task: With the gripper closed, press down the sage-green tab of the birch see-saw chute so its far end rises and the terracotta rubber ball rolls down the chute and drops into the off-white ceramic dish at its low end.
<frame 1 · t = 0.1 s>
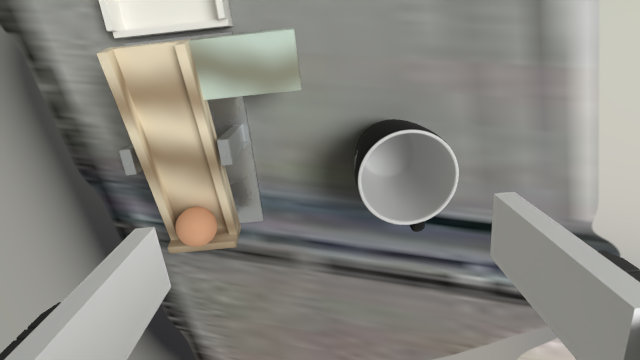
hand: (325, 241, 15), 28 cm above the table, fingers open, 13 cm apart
mug: (390, 161, 43), on the table
wooden ramp: (224, 151, 35), point 7 cm above the table, hinge at 12.0°, touching ball
stand: (200, 138, 41), on the table
ball: (196, 226, 38), point 7 cm above the table, tilted 10°, touching wooden ramp
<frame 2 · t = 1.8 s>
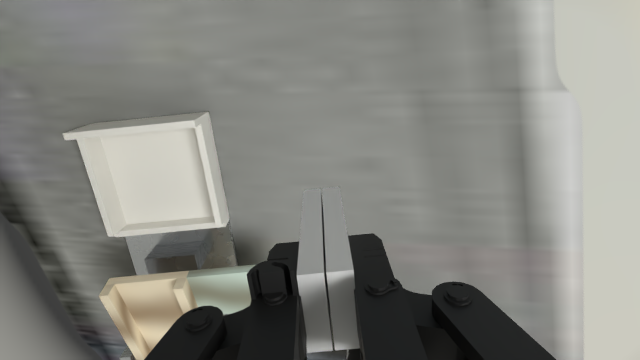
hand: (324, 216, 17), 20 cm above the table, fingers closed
dish: (164, 172, 37), on the table
wooden ramp: (220, 352, 36), point 7 cm above the table, hinge at 12.0°, touching ball
stand: (198, 309, 43), on the table
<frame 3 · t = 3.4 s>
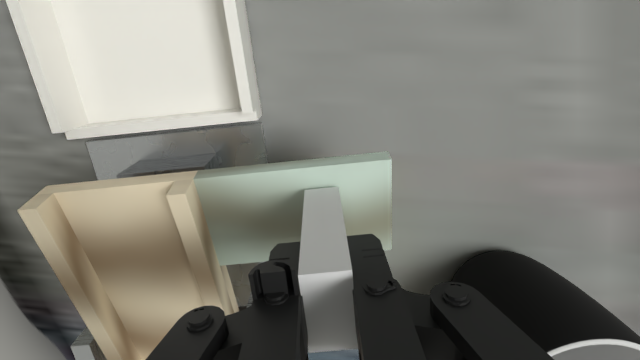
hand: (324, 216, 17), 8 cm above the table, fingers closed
dish: (151, 27, 22), on the table
mug: (493, 301, 29), on the table
wooden ramp: (250, 336, 21), point 7 cm above the table, hinge at 9.8°, touching ball, gripper
stand: (209, 272, 27), on the table
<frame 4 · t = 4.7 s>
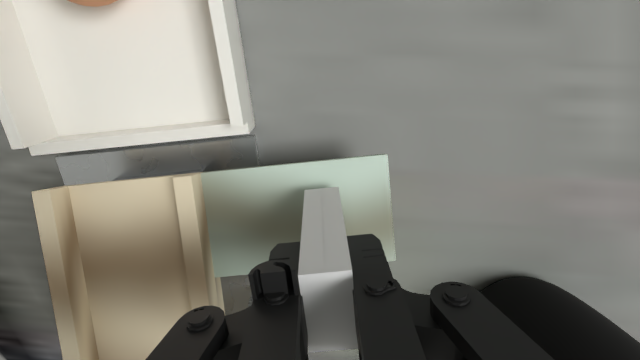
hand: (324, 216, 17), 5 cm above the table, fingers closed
dish: (128, 27, 19), on the table
mug: (513, 330, 26), on the table
stand: (197, 300, 24), on the table
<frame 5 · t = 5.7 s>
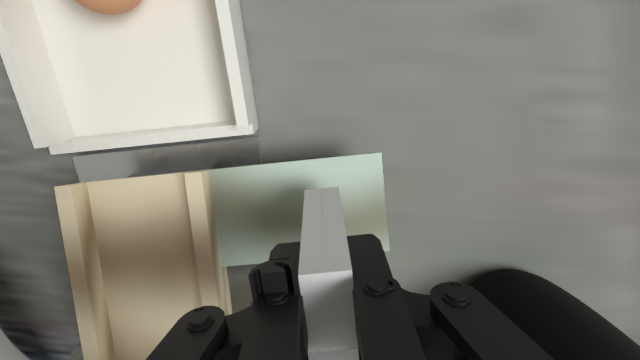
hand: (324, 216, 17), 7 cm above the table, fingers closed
dish: (141, 36, 20), on the table
mug: (503, 322, 27), on the table
stand: (203, 292, 26), on the table
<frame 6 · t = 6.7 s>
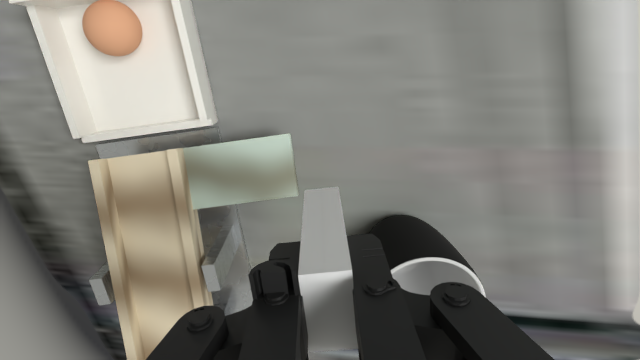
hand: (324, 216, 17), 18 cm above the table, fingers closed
dish: (138, 64, 32), on the table
mug: (402, 255, 38), on the table
wooden ramp: (209, 269, 30), point 7 cm above the table, hinge at -13.0°
stand: (187, 238, 37), on the table
ball: (113, 28, 28), point 2 cm above the table, tilted 104°, touching dish
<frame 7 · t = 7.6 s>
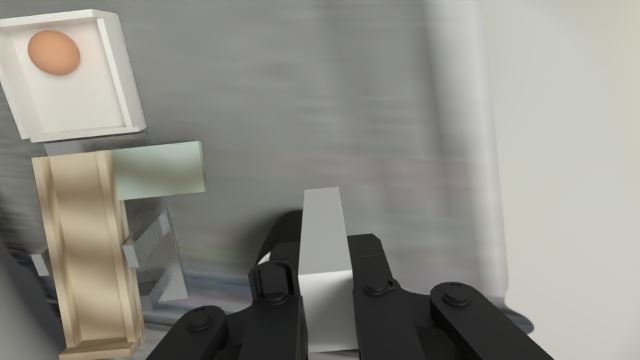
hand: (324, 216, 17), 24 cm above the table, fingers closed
dish: (79, 79, 38), on the table
mug: (307, 244, 45), on the table
wooden ramp: (131, 249, 37), point 7 cm above the table, hinge at -13.0°
stand: (124, 225, 44), on the table
ball: (54, 53, 35), point 2 cm above the table, tilted 100°, touching dish
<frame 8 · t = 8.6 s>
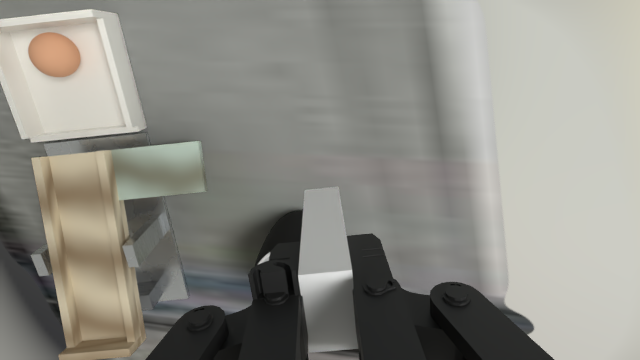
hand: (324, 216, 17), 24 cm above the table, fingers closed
dish: (79, 79, 38), on the table
mug: (307, 244, 45), on the table
wooden ramp: (131, 249, 37), point 7 cm above the table, hinge at -13.0°
stand: (124, 225, 44), on the table
ball: (55, 55, 35), point 2 cm above the table, tilted 95°, touching dish
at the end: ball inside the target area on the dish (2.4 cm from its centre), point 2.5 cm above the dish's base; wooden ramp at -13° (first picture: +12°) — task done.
